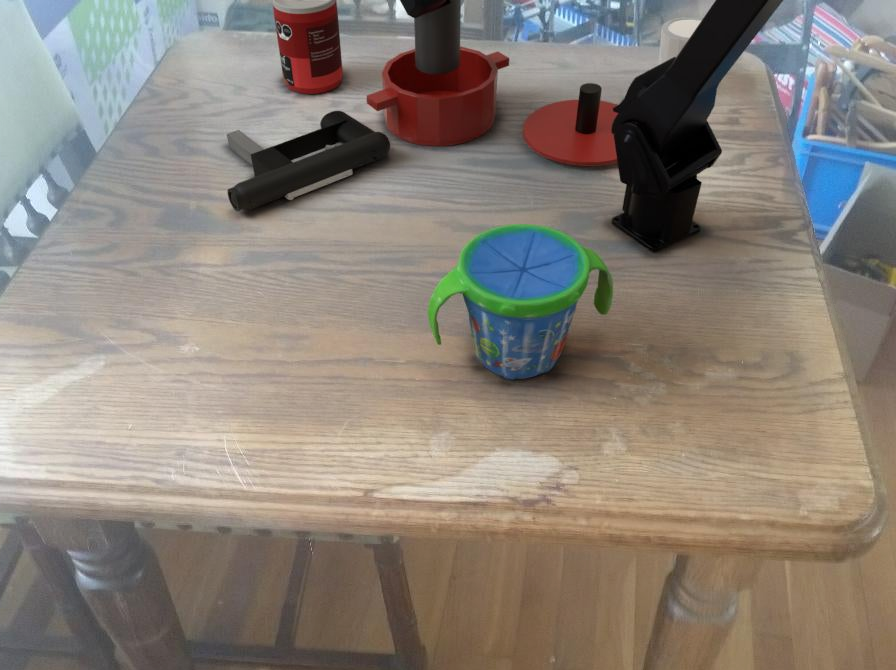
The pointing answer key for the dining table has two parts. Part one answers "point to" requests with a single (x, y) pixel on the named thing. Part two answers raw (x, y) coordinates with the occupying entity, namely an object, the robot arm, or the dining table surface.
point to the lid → (574, 129)
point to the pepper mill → (438, 39)
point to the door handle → (304, 160)
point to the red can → (309, 44)
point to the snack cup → (521, 295)
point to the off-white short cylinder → (676, 36)
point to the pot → (439, 98)
